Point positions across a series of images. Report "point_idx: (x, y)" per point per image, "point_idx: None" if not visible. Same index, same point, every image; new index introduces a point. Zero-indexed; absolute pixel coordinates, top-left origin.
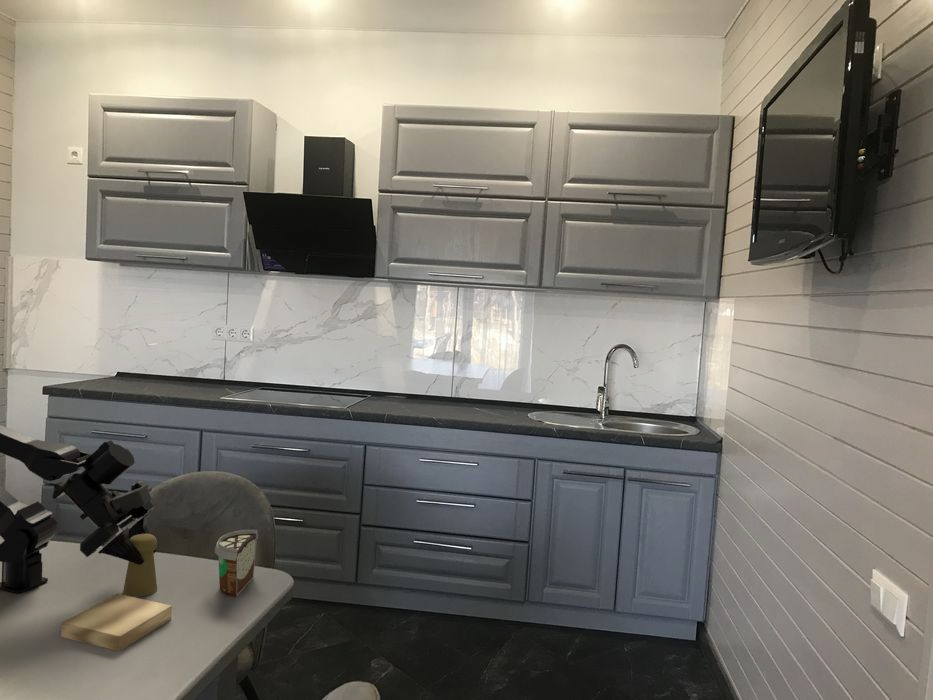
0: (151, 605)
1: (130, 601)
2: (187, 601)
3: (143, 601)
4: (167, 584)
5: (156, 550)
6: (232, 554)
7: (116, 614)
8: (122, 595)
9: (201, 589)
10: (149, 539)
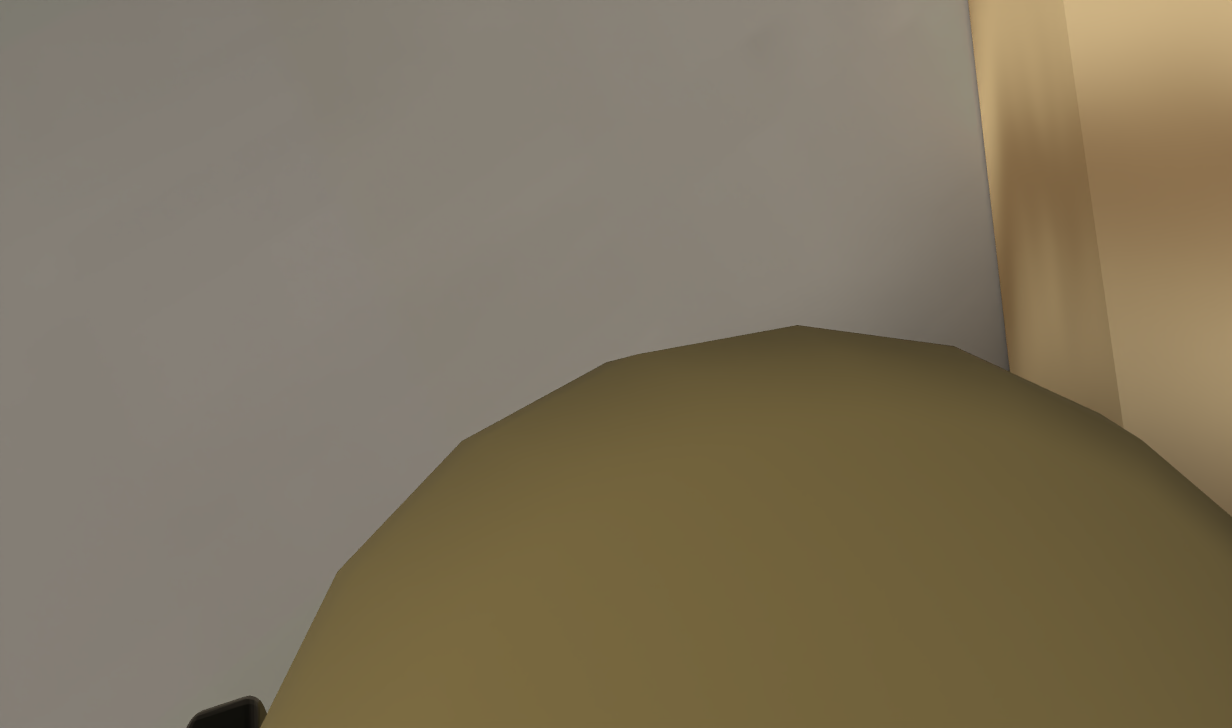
0: (1153, 34)
1: (1213, 323)
2: (566, 14)
3: (1133, 179)
4: (209, 552)
5: (208, 710)
6: None
7: None
8: None
9: (202, 38)
10: (982, 399)
